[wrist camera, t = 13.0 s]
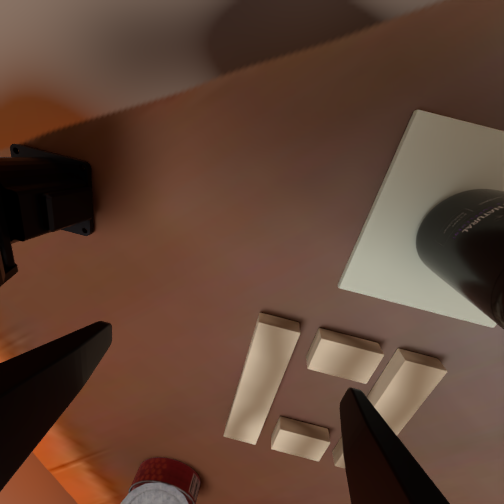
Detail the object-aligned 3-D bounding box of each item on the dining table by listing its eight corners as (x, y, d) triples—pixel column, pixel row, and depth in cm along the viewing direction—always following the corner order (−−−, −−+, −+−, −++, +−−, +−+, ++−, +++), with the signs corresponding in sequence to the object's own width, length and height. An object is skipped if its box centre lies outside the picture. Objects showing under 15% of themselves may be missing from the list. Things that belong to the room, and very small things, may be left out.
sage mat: (337, 285, 22) (338, 288, 21) (414, 110, 16) (418, 109, 16) (488, 324, 21) (493, 328, 21) (617, 162, 16) (628, 162, 15)
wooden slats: (226, 423, 31) (223, 436, 29) (259, 312, 24) (258, 322, 22) (362, 459, 30) (366, 474, 29) (437, 358, 23) (447, 371, 22)
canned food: (152, 436, 41) (96, 486, 32) (199, 434, 38) (152, 490, 29) (165, 508, 40) (111, 583, 31) (216, 513, 36) (172, 599, 27)
